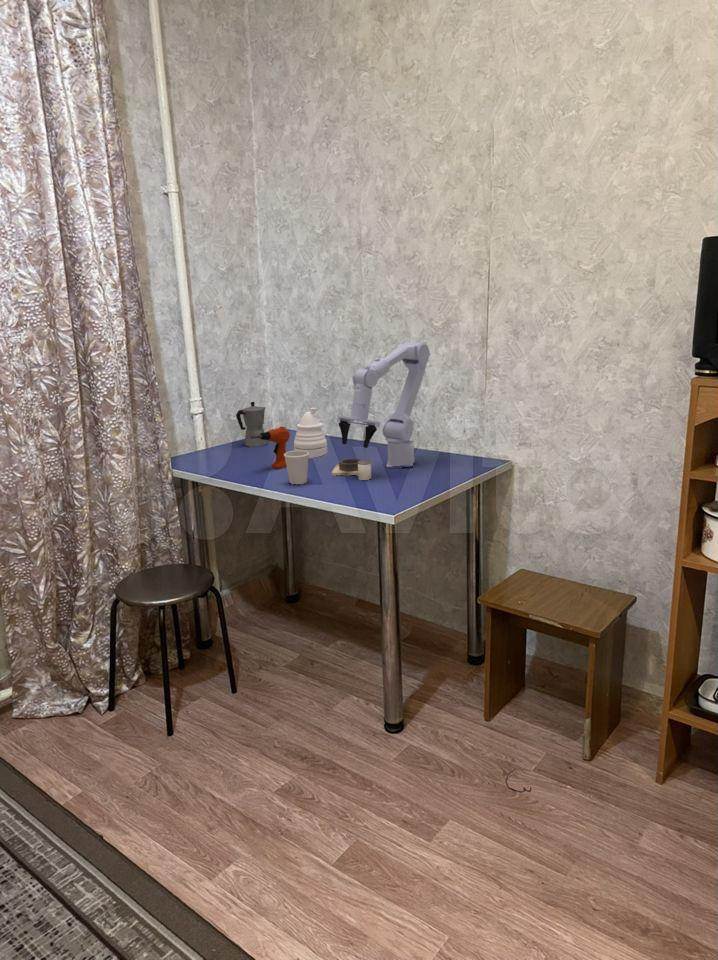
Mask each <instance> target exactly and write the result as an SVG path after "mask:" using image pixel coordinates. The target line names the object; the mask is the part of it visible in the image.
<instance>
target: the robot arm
mask: <svg viewBox="0 0 718 960" xmlns="http://www.w3.org/2000/svg"><path fill="white" fill-rule="evenodd" d="M430 355H431V352H430V349H429V345H428V344H427V343H426V342H412V341H410V342H409V341H401V343H399V344H398V345H397V347H396V348H395V349H394V350H393V351H392V352H390V353H389V354H388V355H387V356H386V357H384V358H383V357H376V358H375V359H374V360H373V362H370V364H367V365H365V367H364V368H360V369H357V370H356V371H354V373H353V375H352V383H353V390H354V391H353V397H352V399H353V400H352V404H351V405H352V406H351V413H350V416H346V415H339V414H337V420H336V421H337V422H338V426H339V430H340V433H341V434H340V435H341V440H342V441H341V442H342V443H341V444H342V445H347V443H348V435H349V431H350V427H351V424H355V425H361V426H365V429H364V431H365V433H364V441H363V448H366V449H367V448H368V447H369V444H370V442H371V440H372V437H373V436H374V435H375V433H376V432H377V430H378V428H380V426H381V421H378V420H377V421H376V420H371V419H368V418H369V412H370V405H371V400H372V399H371V398H372V393H373V387H376V386H377V384H378V381H379V380H380V379H381V378H383V377H384V376H385V375H387V374H388V373H389V372H390V369H391V367H392V366H394V365H396V364H397V363H399V362H401V361H402V362H403V365H404V367H406V368H407V370H408V373H407V376H406V379H405V381H404V384H403V387H402V390H401V394H400V396H399V400H398V403H397V406H396V408H395V411H394V412H392V413H391V414H390V415H388V416H387V419H386V421H385V423H384V424H383V425H382V431H381V432H382V435H383V436H384V438H385V440H386V441H387V462H386V466H385V467H386V468H393V467H392V466H400V465H413V463H414V464H415V460H416V459H415V448H414V446H415V445H414V440H410V439H411V438H412V436H413V432H414V431H413V428H414V425H415V423H414V421H413V419H412V417H411V414H412V411H413V408H414V406H415V402H416V400H417V396H418V393H419V390H420V387H421V385H422V382H423V378H424V375H425V373H426V367H427V364H428V361H429V358H430ZM413 466H414V465H413Z"/></svg>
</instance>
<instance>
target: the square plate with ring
mask: <svg viewBox="0 0 718 960" xmlns="http://www.w3.org/2000/svg"><path fill="white" fill-rule="evenodd" d="M361 460H362V459H360V458H345V459H344V458H343V459H341V460H339V461H338V463H336V465H334V466H335V467H333V469H332V471H331V472H330V473H331V476H333V477H334V476H335V477H336V475H338V476H339V475H343V476H344V477H347V476H350V475H356V476H355V477H358V461H361ZM338 476H337V477H338ZM343 476H342V477H343ZM339 477H340V476H339ZM350 477H351V476H350Z"/></svg>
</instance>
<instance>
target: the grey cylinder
mask: <svg viewBox="0 0 718 960" xmlns="http://www.w3.org/2000/svg"><path fill="white" fill-rule="evenodd" d="M360 460H361V461H358V476H357V477H358V479H359V480H358V481H361V480H368V481H370V480H369V479H371V480H372V461H371V460H367V459H363V460H362V459H360Z"/></svg>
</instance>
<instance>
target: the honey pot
mask: <svg viewBox="0 0 718 960" xmlns="http://www.w3.org/2000/svg"><path fill="white" fill-rule="evenodd" d="M309 410H310V411H307V412H305V413H304V414H303V415H302V417H301V419H300V421H299V423H298V424H296V427H297V429H296V432H295V438H294V440H293V451H297V450H301V451H307V452H309V455H308V459H314V458H313V457H318V456H322V455H324V454H326V453H327V454H328V443H327V442H328V440H327V438H326V435H325V434H324V433H325V432H324V431H323V428H322V427H323V426H324V424H323V422H320V421H319V420H318V418H317V416H316V415H315V414H316V413H317V411H318V408H317V407H310V409H309ZM318 458H319V457H318Z"/></svg>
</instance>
